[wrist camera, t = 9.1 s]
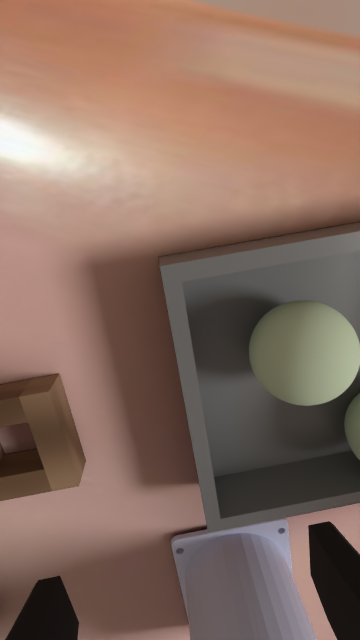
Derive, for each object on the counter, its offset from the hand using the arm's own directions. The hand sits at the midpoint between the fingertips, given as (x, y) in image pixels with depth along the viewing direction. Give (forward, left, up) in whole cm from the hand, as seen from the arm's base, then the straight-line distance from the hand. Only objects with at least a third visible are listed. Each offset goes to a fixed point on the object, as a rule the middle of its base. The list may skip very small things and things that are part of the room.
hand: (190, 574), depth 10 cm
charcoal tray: (0, -8, -10) cm, 13 cm away
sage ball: (+3, -7, -7) cm, 10 cm away
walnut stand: (-1, +9, -10) cm, 14 cm away
